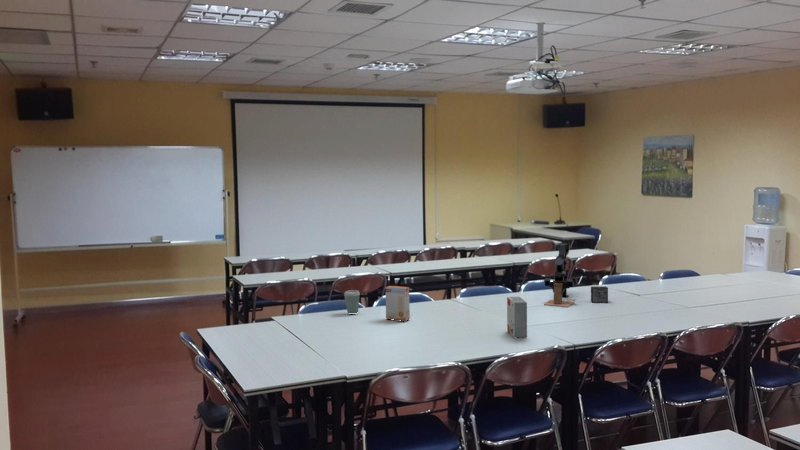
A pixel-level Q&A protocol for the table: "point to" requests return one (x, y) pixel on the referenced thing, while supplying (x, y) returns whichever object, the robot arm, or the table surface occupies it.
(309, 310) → the table surface
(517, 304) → the hard drive box
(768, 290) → the table surface
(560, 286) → the walnut block
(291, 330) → the table surface
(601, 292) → the small box
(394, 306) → the cracker box
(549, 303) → the terracotta mat
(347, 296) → the disposable coffee cup
